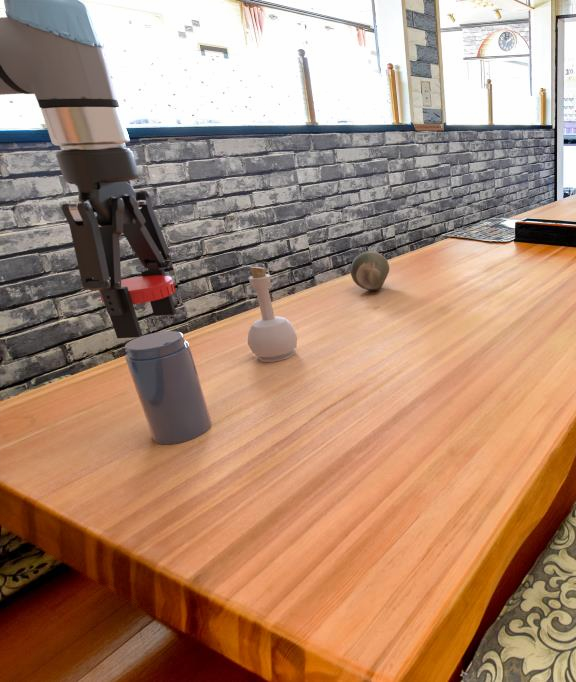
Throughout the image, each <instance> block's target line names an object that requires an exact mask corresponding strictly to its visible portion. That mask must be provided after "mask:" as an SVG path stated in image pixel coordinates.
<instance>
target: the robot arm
mask: <svg viewBox="0 0 576 682" xmlns="http://www.w3.org/2000/svg"><path fill="white" fill-rule="evenodd" d="M3 4H4V7H5V11H4V13H5V17H3V16H2V17H0V96H1V95H2V96H3V95H19V94H23V95H34V96H35V98H36V101H37V104H38V106H39V108H40V110H41V113H42V117H43V119H44V123H45V126H46V128H47V132H48V135H49V138H50V142H51V144H52V145H54V146H56V147H57V146H59V148H60V150H58V151H56V153H55V158H56V160H57V164H58V165H59V169H60V172H61V175H62V178H63V180H64V182H66V184H67V183H68V184H69V185H75V186H76V187H77V192H78V201H76V202H72V203H71V202H70V203H63V204H62V205H61V211H62V213H63V215H64V217H65V220H66V221H67V224H68V225H69V230H70V235H71V238H72V244H73V248H74V252H75V257H76V263H77V267H78V271H79V272H78V273H79V275H80V281H81V284H82V287H83V289H84V290H89V291H92V292H94V291H95V292H96V291H98V292H99V294H100V293H101V295H102V298H103V301H104V303H103V304H104V307H105V309H106V312H107V314H108V315H109V318H110V321H111V324H112V327H113V330H114V332H115V335H116V339H132V338H133V339H136V338H138V337H141V336H144V335H143V332H142V328H141V326H140V322H139V319H138V316H137V313H136V310H135V306H134V304H133V303H132V300H131V297H130V294H129V291H128V287H121V280H122V270H121V269H122V267H121V266H122V265H121V249H120V248H121V247H120V246H121V245H120V236H121V235H122V234H123V236H124V237H125V239H126V241H127V243H128V244H129V246H130V247H131V249H132V250H133V252H134V253H135V255H136V257H137V258H138V260H139V262H140V263H141V265H142V266H143V268H144V269H143V270H141V271H140V273H141V276H152V275H164V276H167V275H166V271H165V269H166V268H167V269H169V268H172V254H171V251H170V249H169V247H168V244H167V242H166V239H165V236H164V234H163V231H162V228H161V226H160V224H159V221H158V217H157V215H156V212H155V210H154V207H153V203H152V202H153V201H152V198H151V193H150V191H149V190H147V189H146V190H135V189H134V187H133V185H132V183H131V181H135V180H137V179H138V178H139V177H140V174H139V170H138V166H137V161H136V159H135V156H134V152H133V150H131V149H130V148H129V147H128V148H127V147H126V144H128V143H130V140H131V139H130V137H129V134H128V131H127V128H126V125H125V120H124V118H123V115H122V112H121V109H120V105H119V101H118V99H117V97H116V92H115V89H114V85H113V82H112V78H111V74H110V70H109V66H108V63H107V59H106V55H105V52H104V49H105V46H104V43H102V39H101V37H100V35H99V32H98V29H97V27H96V23H95V21H94V17H93V15H92V13H91V11H90V9H89V8H88V6H87V5H86V4H85V3H83V2H82V1H80V0H3ZM149 303H150V307H151V310H152V313H153V317H154V316H155V317H158V316H159V317H160V316H174V315H177V309H176V307H175V303H174V300H173V294H172V295H170V296H167V297H165V298H162V299H158V300H155V301H150V302H149Z"/></svg>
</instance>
